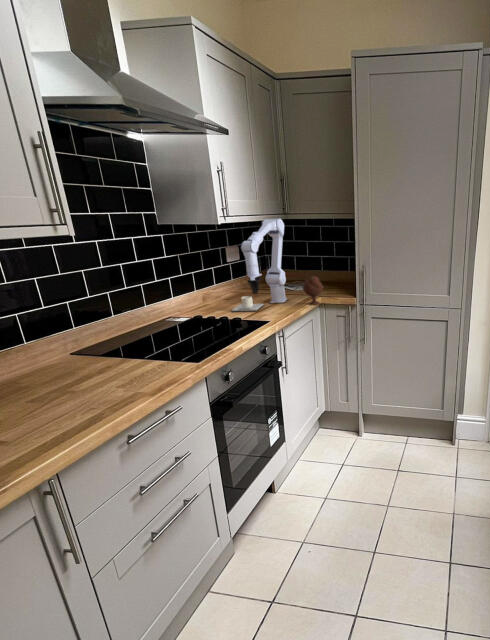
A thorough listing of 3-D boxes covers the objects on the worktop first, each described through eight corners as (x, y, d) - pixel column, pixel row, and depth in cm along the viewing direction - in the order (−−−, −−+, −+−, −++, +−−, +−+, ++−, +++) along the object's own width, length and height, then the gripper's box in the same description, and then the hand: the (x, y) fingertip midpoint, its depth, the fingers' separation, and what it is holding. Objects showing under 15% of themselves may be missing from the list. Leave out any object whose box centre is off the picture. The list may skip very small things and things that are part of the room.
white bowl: (245, 305, 234) (243, 296, 232) (255, 305, 233) (253, 296, 231) (240, 307, 229) (239, 298, 227) (250, 307, 228) (249, 298, 226)
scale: (240, 306, 238) (240, 303, 237) (264, 305, 237) (263, 303, 237) (231, 312, 225) (231, 309, 224) (256, 311, 225) (256, 309, 224)
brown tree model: (326, 301, 243) (324, 274, 237) (321, 305, 233) (319, 277, 227) (307, 301, 244) (305, 274, 238) (302, 306, 234) (299, 277, 228)
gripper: (259, 266, 215) (262, 294, 220) (261, 263, 228) (264, 289, 233) (244, 267, 214) (248, 295, 219) (247, 264, 227) (251, 290, 232)
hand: (256, 292), depth 226 cm, fingers open, 7 cm apart
